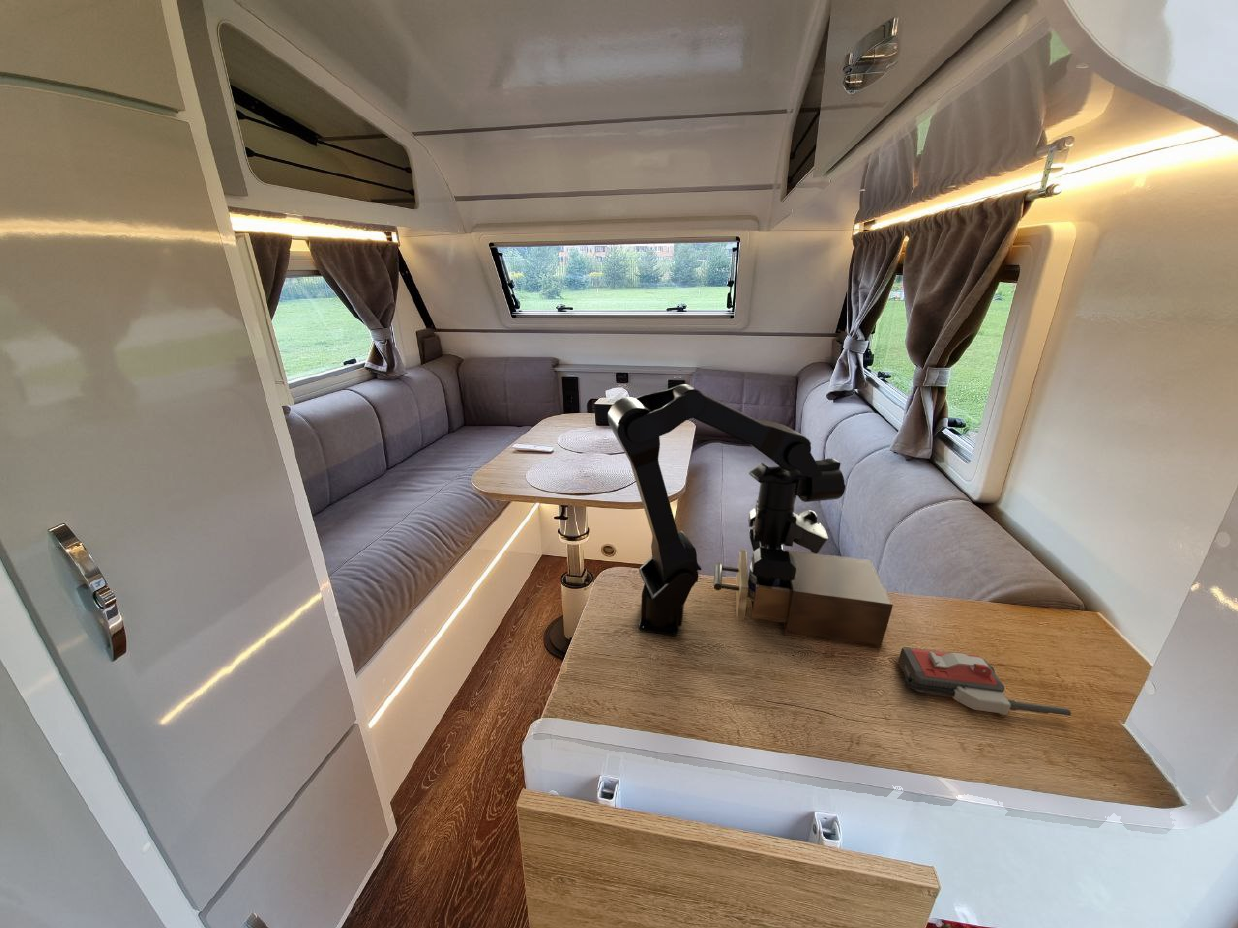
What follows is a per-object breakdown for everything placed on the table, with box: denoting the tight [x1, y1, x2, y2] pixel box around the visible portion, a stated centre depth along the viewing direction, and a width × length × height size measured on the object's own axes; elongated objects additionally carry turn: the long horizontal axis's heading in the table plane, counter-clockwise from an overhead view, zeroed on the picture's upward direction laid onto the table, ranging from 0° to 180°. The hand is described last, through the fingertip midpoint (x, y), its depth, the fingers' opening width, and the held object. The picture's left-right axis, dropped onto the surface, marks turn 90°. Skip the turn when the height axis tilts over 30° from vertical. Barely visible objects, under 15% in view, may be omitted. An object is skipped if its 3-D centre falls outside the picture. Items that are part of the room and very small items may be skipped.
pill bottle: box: [747, 548, 781, 602], centre depth 82 cm, size 5×5×9 cm
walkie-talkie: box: [897, 646, 1072, 716], centre depth 67 cm, size 9×4×20 cm
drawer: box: [713, 549, 792, 624], centre depth 83 cm, size 18×11×7 cm, turn 78°
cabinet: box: [783, 549, 894, 650], centre depth 81 cm, size 15×13×9 cm
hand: (763, 582), depth 83 cm, fingers closed on pill bottle, 5 cm apart
